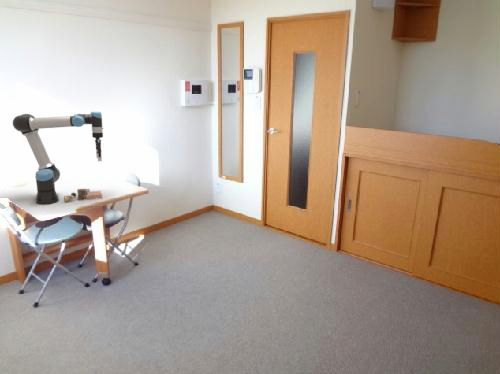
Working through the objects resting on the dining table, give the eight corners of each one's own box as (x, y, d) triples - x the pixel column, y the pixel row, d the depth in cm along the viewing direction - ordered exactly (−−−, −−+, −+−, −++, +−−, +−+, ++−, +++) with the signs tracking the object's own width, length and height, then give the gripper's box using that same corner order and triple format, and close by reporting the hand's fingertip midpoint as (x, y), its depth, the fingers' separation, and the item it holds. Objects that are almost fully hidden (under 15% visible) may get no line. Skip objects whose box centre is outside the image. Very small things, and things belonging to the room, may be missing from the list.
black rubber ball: (71, 198, 299) (70, 193, 298) (71, 196, 303) (70, 192, 302) (76, 197, 301) (75, 193, 300) (76, 196, 304) (75, 191, 303)
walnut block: (78, 200, 295) (77, 191, 293) (78, 198, 300) (77, 189, 298) (86, 199, 298) (86, 190, 296) (86, 197, 303) (85, 188, 301)
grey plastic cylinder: (84, 195, 308) (84, 190, 307) (84, 193, 311) (84, 189, 310) (90, 194, 309) (89, 190, 308) (90, 193, 313) (89, 188, 312)
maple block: (66, 202, 288) (65, 197, 287) (64, 201, 291) (63, 196, 290) (74, 201, 292) (74, 196, 291) (72, 200, 295) (72, 195, 294)
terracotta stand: (88, 199, 298) (87, 195, 297) (87, 195, 307) (87, 192, 306) (102, 198, 302) (101, 194, 301) (101, 194, 311) (100, 190, 310)
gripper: (104, 134, 288) (105, 162, 293) (101, 129, 309) (102, 156, 315) (93, 134, 284) (95, 163, 290) (91, 130, 306) (92, 156, 312)
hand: (99, 159), depth 303 cm, fingers open, 13 cm apart
